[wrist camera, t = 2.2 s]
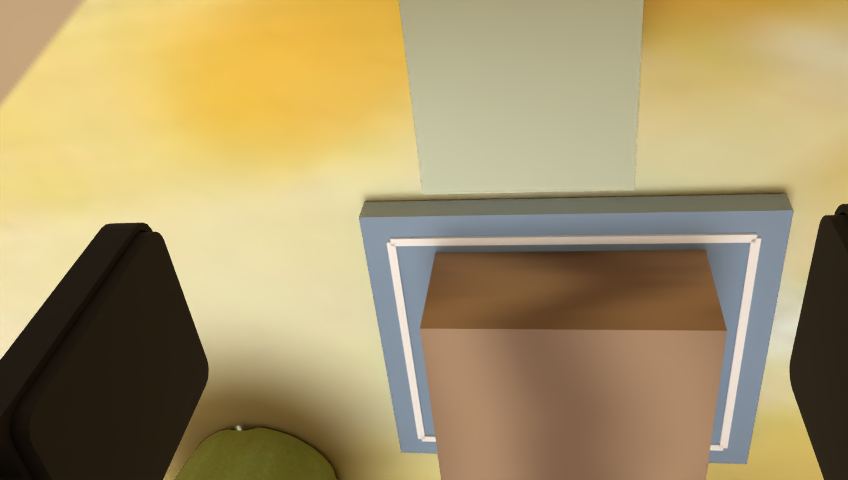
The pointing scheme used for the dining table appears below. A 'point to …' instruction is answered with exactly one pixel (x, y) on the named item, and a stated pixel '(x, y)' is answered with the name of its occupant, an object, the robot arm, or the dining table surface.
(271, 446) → the plant pot
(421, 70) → the sage pillar block
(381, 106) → the dining table surface
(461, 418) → the walnut plinth
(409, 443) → the blueprint mat
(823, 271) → the robot arm
